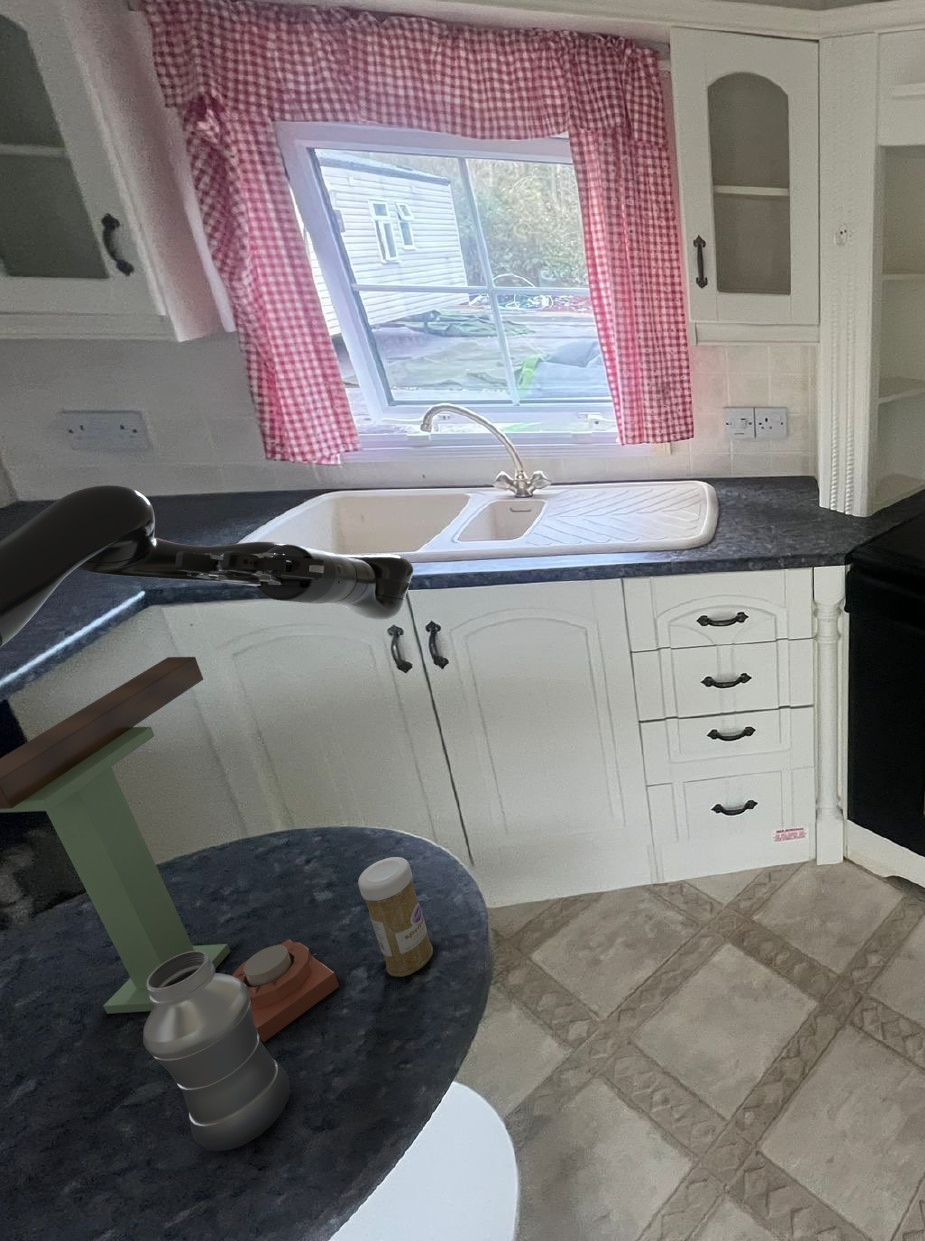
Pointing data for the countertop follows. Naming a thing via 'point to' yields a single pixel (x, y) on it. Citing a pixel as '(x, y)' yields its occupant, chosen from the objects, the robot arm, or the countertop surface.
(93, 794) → the shelf stand
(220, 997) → the grey bottle
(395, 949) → the sprinkles bottle
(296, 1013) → the orange button pad
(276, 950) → the push button
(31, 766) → the brown wooden bar
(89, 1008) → the countertop surface
